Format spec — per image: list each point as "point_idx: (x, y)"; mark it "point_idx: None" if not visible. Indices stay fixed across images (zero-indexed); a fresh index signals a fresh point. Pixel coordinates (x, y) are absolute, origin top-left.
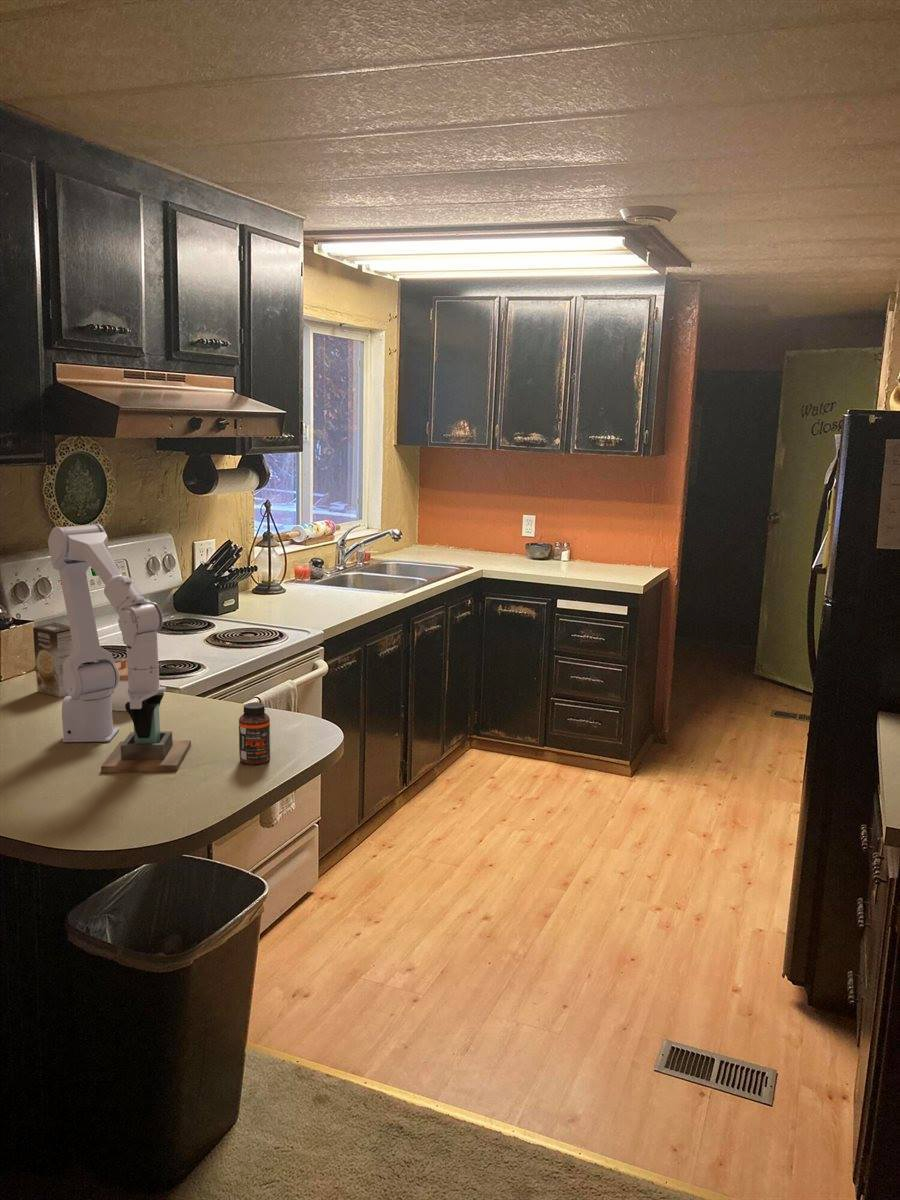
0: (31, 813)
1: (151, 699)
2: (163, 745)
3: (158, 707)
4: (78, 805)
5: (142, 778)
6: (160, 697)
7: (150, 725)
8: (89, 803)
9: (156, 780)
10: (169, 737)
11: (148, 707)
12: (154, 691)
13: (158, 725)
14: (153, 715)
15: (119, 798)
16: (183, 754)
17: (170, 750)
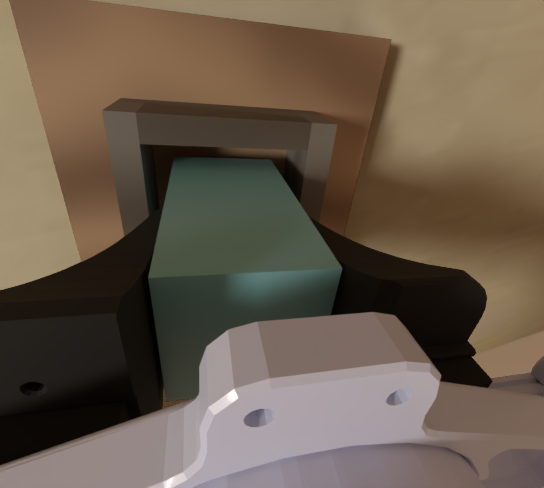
0: (499, 326)
1: (142, 362)
2: (333, 123)
3: (169, 257)
4: (508, 267)
5: (403, 163)
6: (128, 308)
7: (330, 229)
8: (510, 250)
9: (438, 112)
10: (185, 113)
11: (477, 314)
12: (490, 435)
13: (204, 194)
14: (324, 247)
15: (519, 193)
16: (239, 20)
17: (194, 99)
